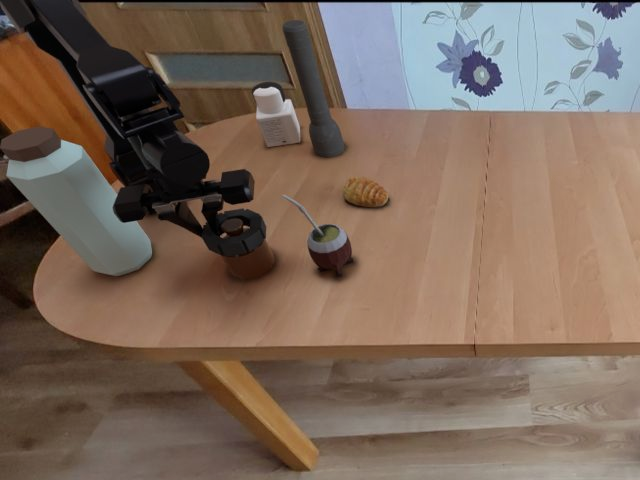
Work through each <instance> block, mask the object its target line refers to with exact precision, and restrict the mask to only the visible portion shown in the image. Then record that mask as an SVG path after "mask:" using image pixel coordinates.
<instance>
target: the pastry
mask: <svg viewBox="0 0 640 480" xmlns="http://www.w3.org/2000/svg"><path fill="white" fill-rule="evenodd" d="M341 195H342V197H343V198H344V199H345V200H346V201H347V202H349V203H350V204H353V205H356V206H360V207H365V208H366V207H367V208H377V207H382V206H384V205H385V204H386V203H387V202H388V199H389V193H388V191H387V190H386V189H385V188H384V187H383V186H381V185H379V183H378V182H375V181H374V180H372V179H371V178H366V177H364V176H361V177H357V176H351V177H349V178H348V179H347V180H346V181H345V184H344V185H343V187H342V194H341Z"/></svg>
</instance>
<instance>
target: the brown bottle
mask: <svg viewBox="0 0 640 480" xmlns="http://www.w3.org/2000/svg"><path fill="white" fill-rule="evenodd" d="M249 228H250V227H245V226H244V224H243V222H242V220H240V219H230V220H227V221H225V222H224V223H223V224H222V225H221V229H222V231H223V232H224V234H226V235H224V236H223V237H222V238H229V237H235V236H239V235H241V234H242V233H244V232H245V231H246V230H248V229H249ZM220 257H221V258H222V260H223V262H224V263H225V265H226V267H227V268H228V270H229V272H230V273H231V275H232V276H233V277H234V278H236V279H240V280H251V279H252V280H253V279H255V278H259V277H261V276H263V275H265V274H266V273H268V272H269V271H270V270H271V269H272V267H273V266H274V264H275V259H276V258H275V256H274V254H273V251H272V250H271V247H270V245H269V243H268V240H267V238H265V239H264V241H263V242H262V243H261V244H259V245H258V246H257V247H255V248H254V249H253V250H252V251H250V252H249V251H246V253H245V254H239V255H233V256H227V257H226V256H225V255H224V256H220Z"/></svg>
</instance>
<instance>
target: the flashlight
mask: <svg viewBox="0 0 640 480" xmlns="http://www.w3.org/2000/svg"><path fill="white" fill-rule="evenodd" d="M282 32H283V36H284V39H285V42H286V45H287V47H288V50H289V53H290V57H291V61H292V64H293V67H294V69H295V73H296V75H297V76H296V77H297V80H298V83H299V86H300V89H301V92H302V95H303V100H304V102H305V106H306V110H307V114H308V118H309V119H310V122H309V125H308V134H309V138H310V141H311V145H312V149H313V152H314V154H315V155H316V156H318V157H321V158H332V157H337V156H339V155H340V154H342V153H343V152H344V151H345V148H346V147H345V142H344V139H343V135H342V131H341V129H340V127H339V124H338V123H337V121H336V120H334V118H332V115H331V111H330V110H331V109H330V107H329V105H328V101H327V98H326V93H325V91H324V86H323V82H322V79H321V76H320V72H319V68H318V65H317V61H316V57H315V53H314V50H313V45H312V40H311V37H310V32H309V29H308V26H307V24H306V23H305V22H304V21H303V20H299V19H293V20H292V19H291V20H288V21H285V22H283V24H282Z"/></svg>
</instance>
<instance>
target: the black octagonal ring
mask: <svg viewBox="0 0 640 480" xmlns="http://www.w3.org/2000/svg"><path fill="white" fill-rule="evenodd" d="M230 219H240V220H242V222H243V224H244V226H243V227H247V228H249V229H248V230H246V231H245V232H244V233H242V234H241V235H239V236H235V237H229V238H223V237H222V235H224V234H225V233H224V232H223V231H222V229H221V225H222V224H223V223H224V222H225V221H227V220H230ZM218 220H219V231H220V232H219V235H216V234H215V233H214V232H213V231H212V229H211V228H210V226H209V224H208V223H207V221H205V224H203V226H202V228H203V230H202V236H201V237H202V238H201V237H200V238H201V239H202V241H203V243H204V244H205V246H206V248H207V250H208V251H210V252H212V253H214V254H216V255H218V256H220V257H221V256H224V255H225V256H226V257H227V256H233V255H239V254H245V253H246V251H249V252H250V251H252V250H253V249H254V248H255V247H257V246H258V245H259V244H261V243H262V242H263V241H264V239H267V225H266V223H265V221H264V218H263V216H262V215H261V214H260V213H259V212H256V211H254V210H251V209H249V208H246V209H245V208H244V207H243V208H237V209H230V210H224V211H223V212H219V213H218Z"/></svg>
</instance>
